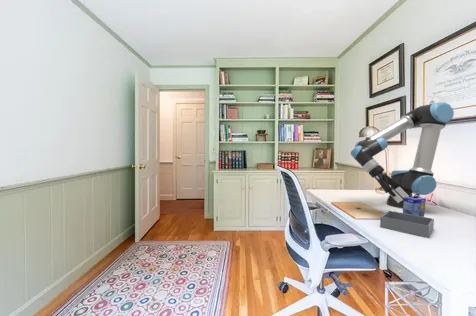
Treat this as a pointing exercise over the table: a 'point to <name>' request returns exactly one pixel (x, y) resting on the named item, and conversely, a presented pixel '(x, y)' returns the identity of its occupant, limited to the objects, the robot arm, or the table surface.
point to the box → (407, 223)
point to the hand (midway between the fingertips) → (403, 199)
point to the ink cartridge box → (414, 205)
